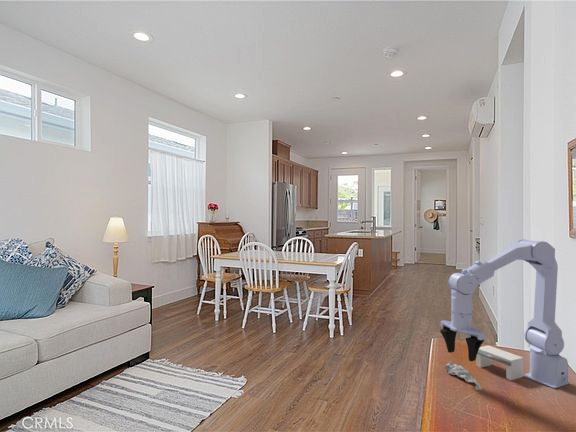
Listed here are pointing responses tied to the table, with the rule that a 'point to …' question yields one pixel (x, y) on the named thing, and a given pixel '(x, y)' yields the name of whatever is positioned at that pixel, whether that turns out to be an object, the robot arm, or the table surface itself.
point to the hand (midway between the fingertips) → (461, 356)
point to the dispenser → (501, 361)
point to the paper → (461, 373)
